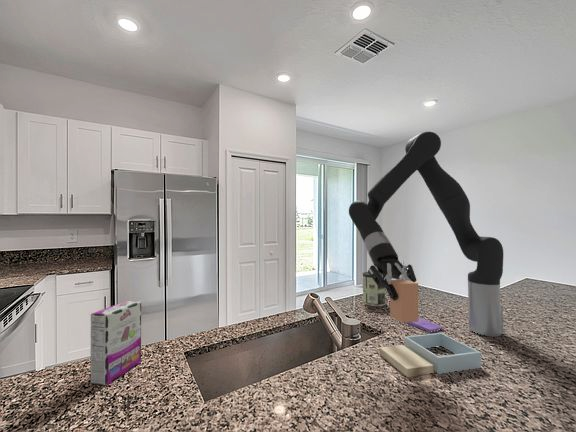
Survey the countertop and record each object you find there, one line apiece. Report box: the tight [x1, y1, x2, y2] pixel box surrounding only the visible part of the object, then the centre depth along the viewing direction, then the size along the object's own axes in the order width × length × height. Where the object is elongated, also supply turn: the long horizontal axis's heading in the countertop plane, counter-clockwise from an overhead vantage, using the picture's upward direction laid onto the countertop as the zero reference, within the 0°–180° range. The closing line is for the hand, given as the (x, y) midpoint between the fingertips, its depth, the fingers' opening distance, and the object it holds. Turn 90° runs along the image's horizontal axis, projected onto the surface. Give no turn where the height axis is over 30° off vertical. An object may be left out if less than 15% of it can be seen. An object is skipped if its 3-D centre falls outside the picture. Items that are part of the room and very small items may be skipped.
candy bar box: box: [89, 300, 142, 386], centre depth 68 cm, size 11×5×16 cm, turn 168°
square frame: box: [403, 332, 482, 375], centre depth 76 cm, size 13×13×4 cm
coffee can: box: [362, 271, 386, 307], centre depth 129 cm, size 10×10×14 cm
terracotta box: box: [389, 279, 419, 324], centre depth 73 cm, size 5×5×10 cm
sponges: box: [405, 316, 444, 332], centre depth 101 cm, size 7×13×2 cm, turn 23°
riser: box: [379, 344, 434, 378], centre depth 73 cm, size 8×12×2 cm, turn 14°
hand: (405, 298), depth 73 cm, fingers closed on terracotta box, 5 cm apart
